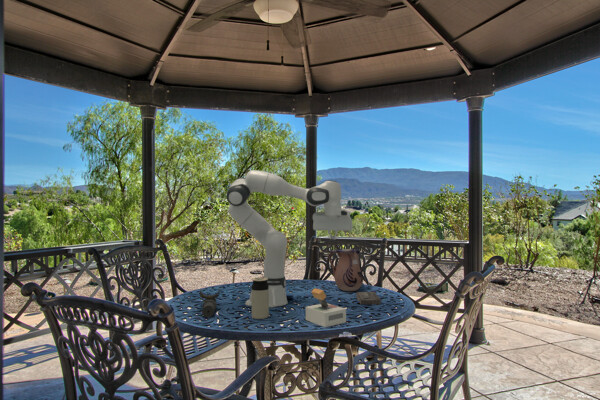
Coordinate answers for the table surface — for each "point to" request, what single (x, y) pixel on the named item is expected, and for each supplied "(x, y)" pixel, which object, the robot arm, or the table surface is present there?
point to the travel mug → (260, 298)
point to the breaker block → (326, 315)
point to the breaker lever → (320, 296)
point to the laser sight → (209, 304)
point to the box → (367, 298)
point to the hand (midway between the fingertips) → (332, 239)
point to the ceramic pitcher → (347, 269)
